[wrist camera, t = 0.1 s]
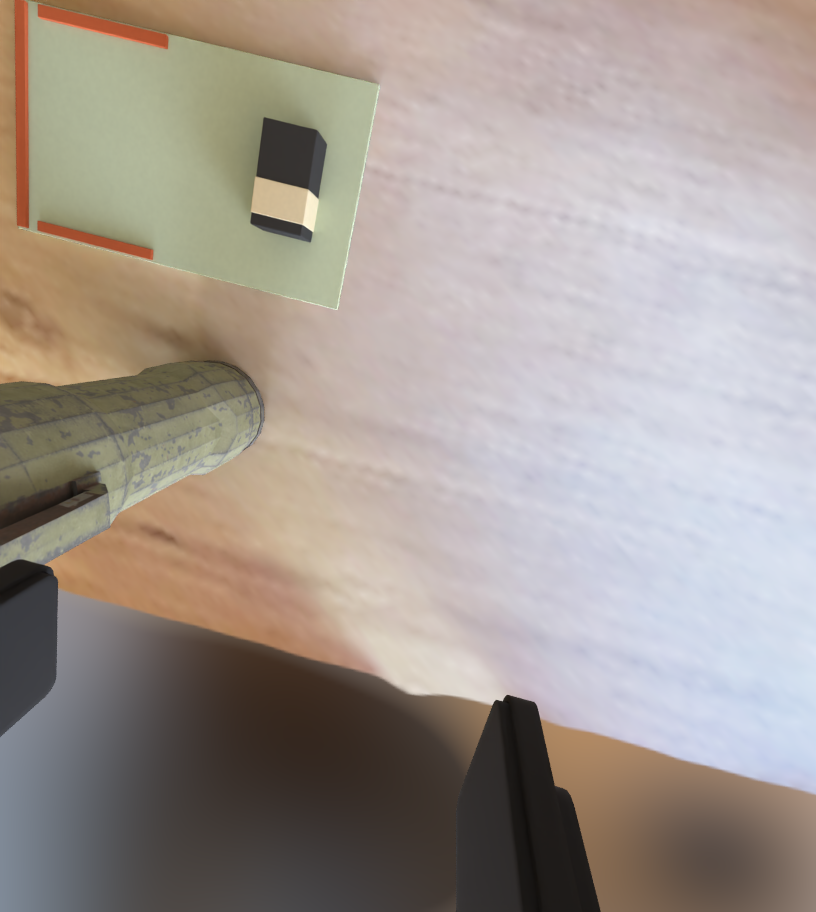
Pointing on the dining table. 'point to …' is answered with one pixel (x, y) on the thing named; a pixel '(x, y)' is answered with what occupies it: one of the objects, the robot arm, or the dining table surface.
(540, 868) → the robot arm
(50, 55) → the desk mat
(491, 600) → the dining table surface
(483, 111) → the dining table surface
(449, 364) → the dining table surface
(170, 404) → the thermos
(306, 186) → the eraser
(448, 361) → the dining table surface
